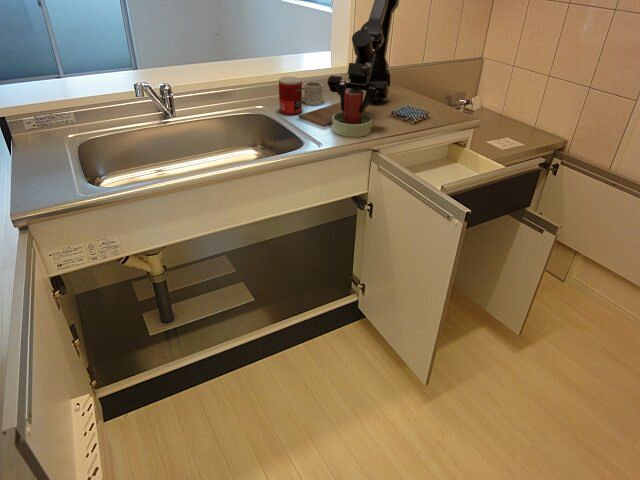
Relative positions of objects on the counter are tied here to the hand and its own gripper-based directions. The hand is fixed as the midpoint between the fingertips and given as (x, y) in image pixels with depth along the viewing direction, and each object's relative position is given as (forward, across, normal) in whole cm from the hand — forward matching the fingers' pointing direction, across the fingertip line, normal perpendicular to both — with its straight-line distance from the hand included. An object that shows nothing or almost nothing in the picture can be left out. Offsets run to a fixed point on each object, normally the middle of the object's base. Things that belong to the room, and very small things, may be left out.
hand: (351, 111), depth 136 cm
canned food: (-3, -25, +13) cm, 29 cm away
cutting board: (-4, -10, +13) cm, 17 cm away
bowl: (+4, 0, +6) cm, 7 cm away
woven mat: (-11, +15, +21) cm, 28 cm away
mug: (-12, -23, +22) cm, 34 cm away
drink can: (+4, 0, +5) cm, 6 cm away
